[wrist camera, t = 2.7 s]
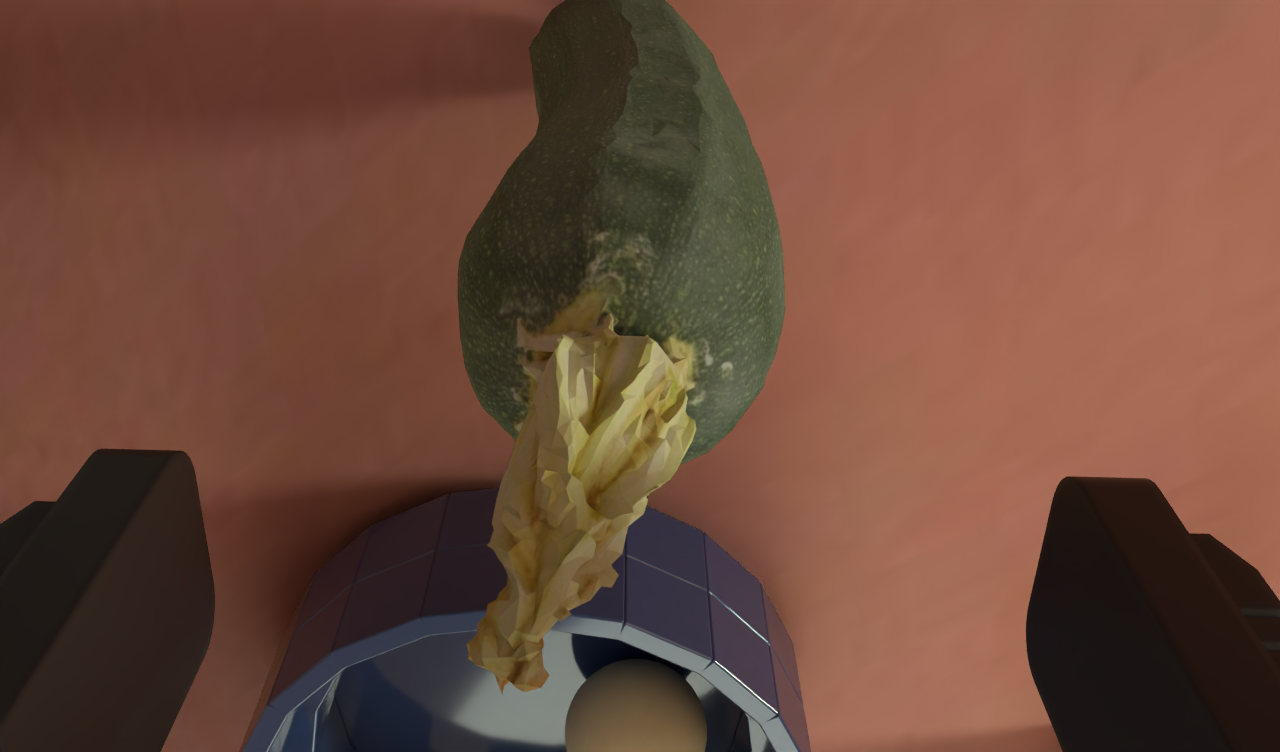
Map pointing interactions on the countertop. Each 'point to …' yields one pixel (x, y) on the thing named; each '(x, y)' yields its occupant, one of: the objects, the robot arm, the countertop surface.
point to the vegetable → (611, 304)
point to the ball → (635, 711)
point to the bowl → (573, 648)
